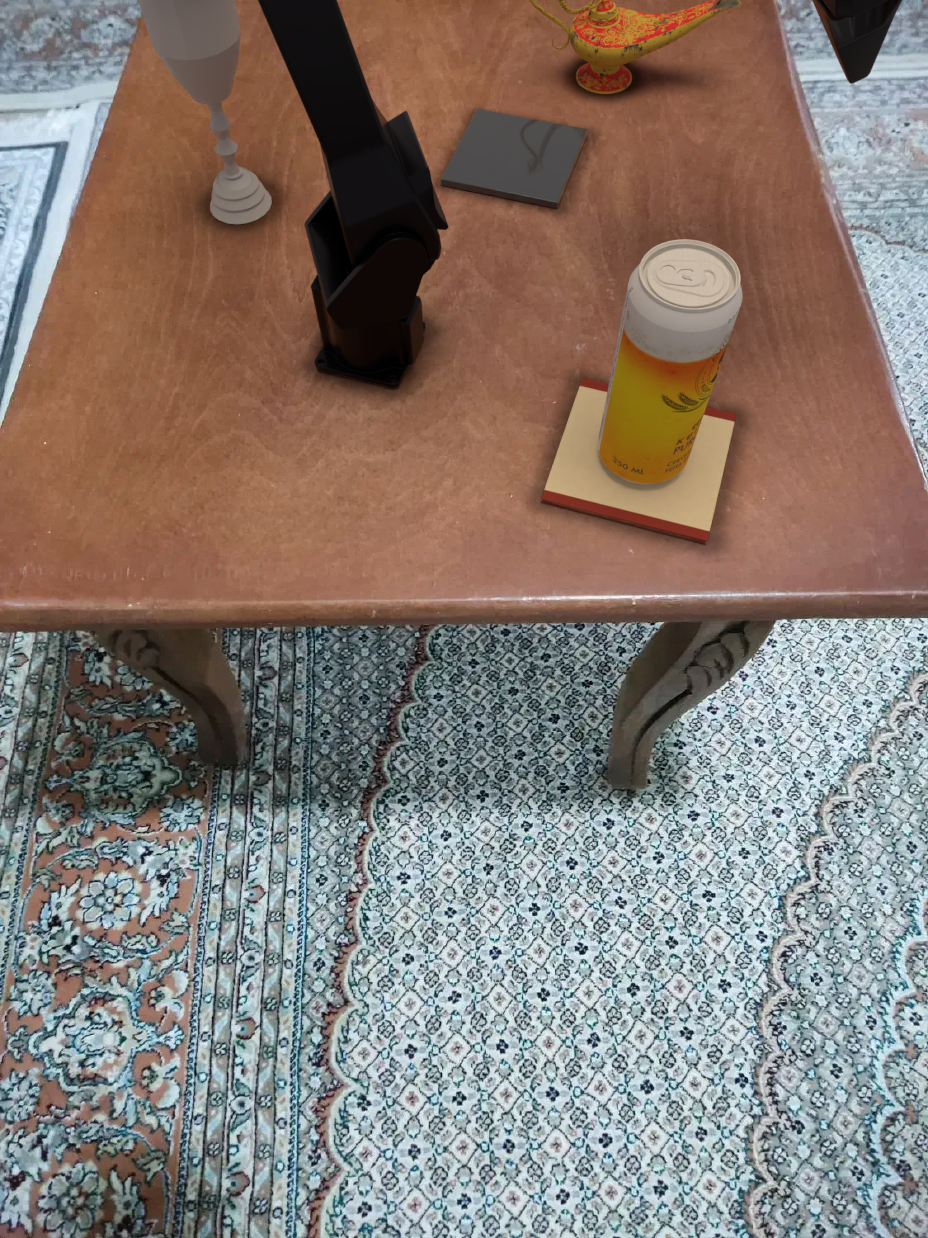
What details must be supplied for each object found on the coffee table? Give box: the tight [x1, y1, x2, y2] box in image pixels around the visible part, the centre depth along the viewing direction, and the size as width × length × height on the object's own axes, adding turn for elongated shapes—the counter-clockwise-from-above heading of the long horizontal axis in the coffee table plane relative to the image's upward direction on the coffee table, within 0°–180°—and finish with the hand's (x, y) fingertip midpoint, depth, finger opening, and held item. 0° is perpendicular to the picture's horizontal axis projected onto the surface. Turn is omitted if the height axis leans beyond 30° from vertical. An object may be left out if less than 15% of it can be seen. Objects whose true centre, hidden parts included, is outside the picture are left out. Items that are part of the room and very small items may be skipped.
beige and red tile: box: [540, 378, 737, 545], centre depth 60 cm, size 11×11×1 cm
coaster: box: [440, 108, 589, 209], centre depth 75 cm, size 10×10×1 cm
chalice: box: [137, 0, 273, 225], centre depth 65 cm, size 7×7×18 cm
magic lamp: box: [528, 0, 742, 95], centre depth 75 cm, size 7×18×11 cm, turn 85°
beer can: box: [598, 238, 744, 485], centre depth 53 cm, size 6×6×15 cm
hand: (825, 34), depth 52 cm, fingers open, 9 cm apart
